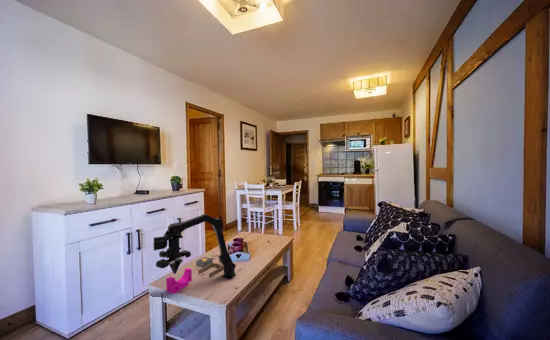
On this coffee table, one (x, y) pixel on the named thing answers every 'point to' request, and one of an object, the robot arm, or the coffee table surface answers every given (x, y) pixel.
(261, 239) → the coffee table surface
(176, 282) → the toy block
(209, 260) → the button housing
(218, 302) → the coffee table surface
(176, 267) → the robot arm
